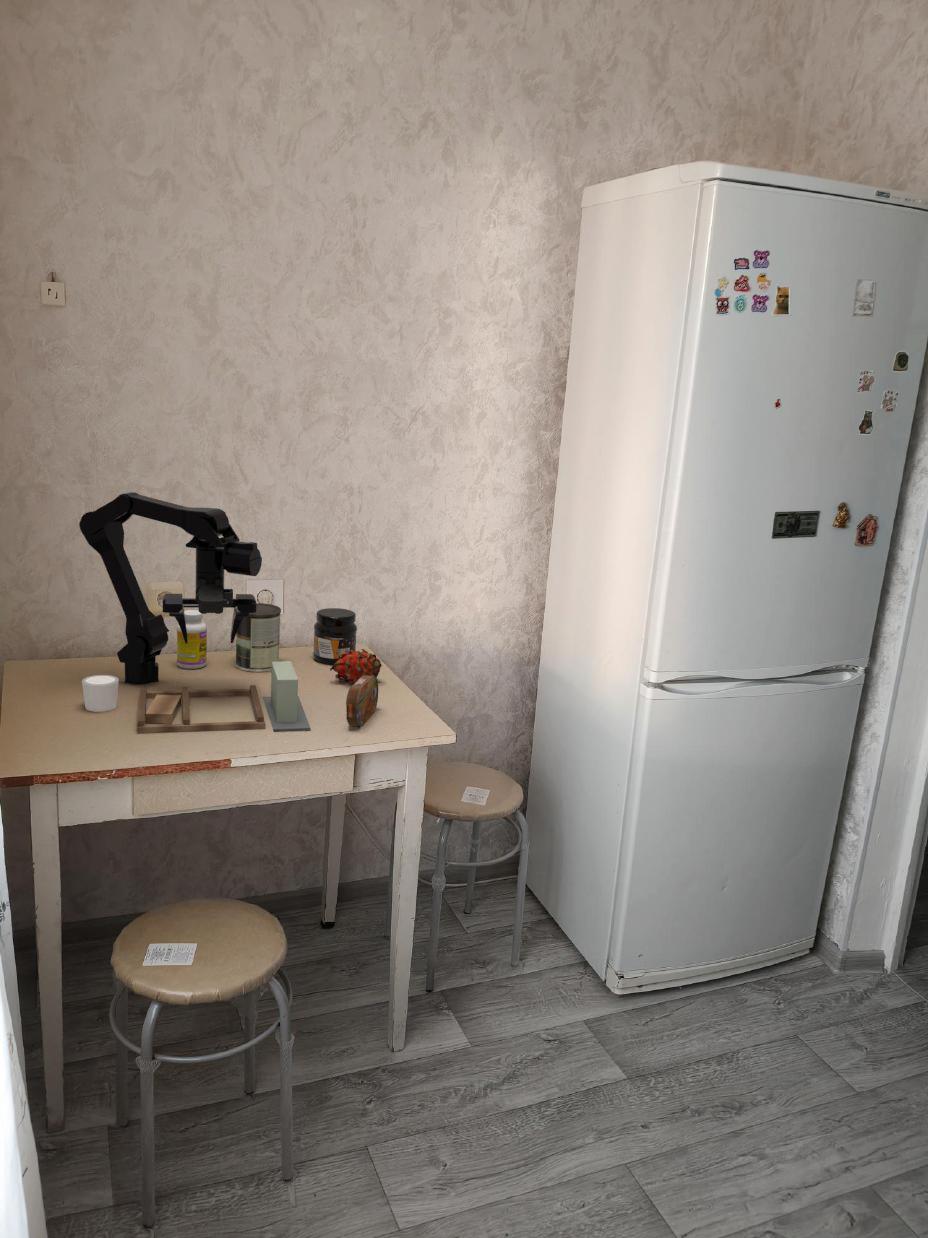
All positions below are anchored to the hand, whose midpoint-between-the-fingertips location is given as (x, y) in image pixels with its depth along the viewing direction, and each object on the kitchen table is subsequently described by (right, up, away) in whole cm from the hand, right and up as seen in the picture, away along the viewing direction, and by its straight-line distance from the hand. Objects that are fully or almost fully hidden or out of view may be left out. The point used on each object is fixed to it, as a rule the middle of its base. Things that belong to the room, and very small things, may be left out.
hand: (209, 642), depth 199 cm
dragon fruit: (+29, -10, +19) cm, 36 cm away
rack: (+1, -15, -10) cm, 18 cm away
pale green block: (+16, -14, -4) cm, 22 cm away
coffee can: (+4, -6, +26) cm, 27 cm away
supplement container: (+21, -5, +35) cm, 42 cm away
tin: (+32, -16, -3) cm, 36 cm away
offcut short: (-6, -14, -12) cm, 19 cm away
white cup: (-19, -14, -10) cm, 26 cm away
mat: (+16, -15, -4) cm, 22 cm away
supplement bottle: (-10, -6, +23) cm, 25 cm away
